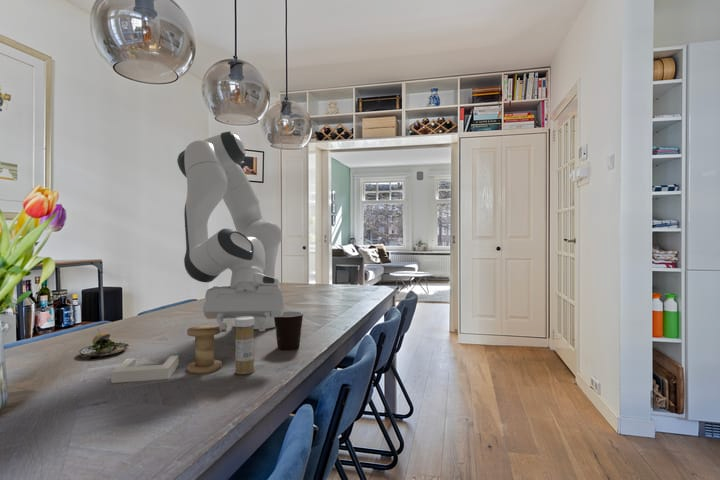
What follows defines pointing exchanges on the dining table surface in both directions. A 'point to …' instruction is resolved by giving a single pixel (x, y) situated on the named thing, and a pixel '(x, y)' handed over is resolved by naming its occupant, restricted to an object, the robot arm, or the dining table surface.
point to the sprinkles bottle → (244, 345)
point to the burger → (102, 347)
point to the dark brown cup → (288, 330)
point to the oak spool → (204, 349)
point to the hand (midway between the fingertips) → (242, 330)
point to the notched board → (143, 371)
